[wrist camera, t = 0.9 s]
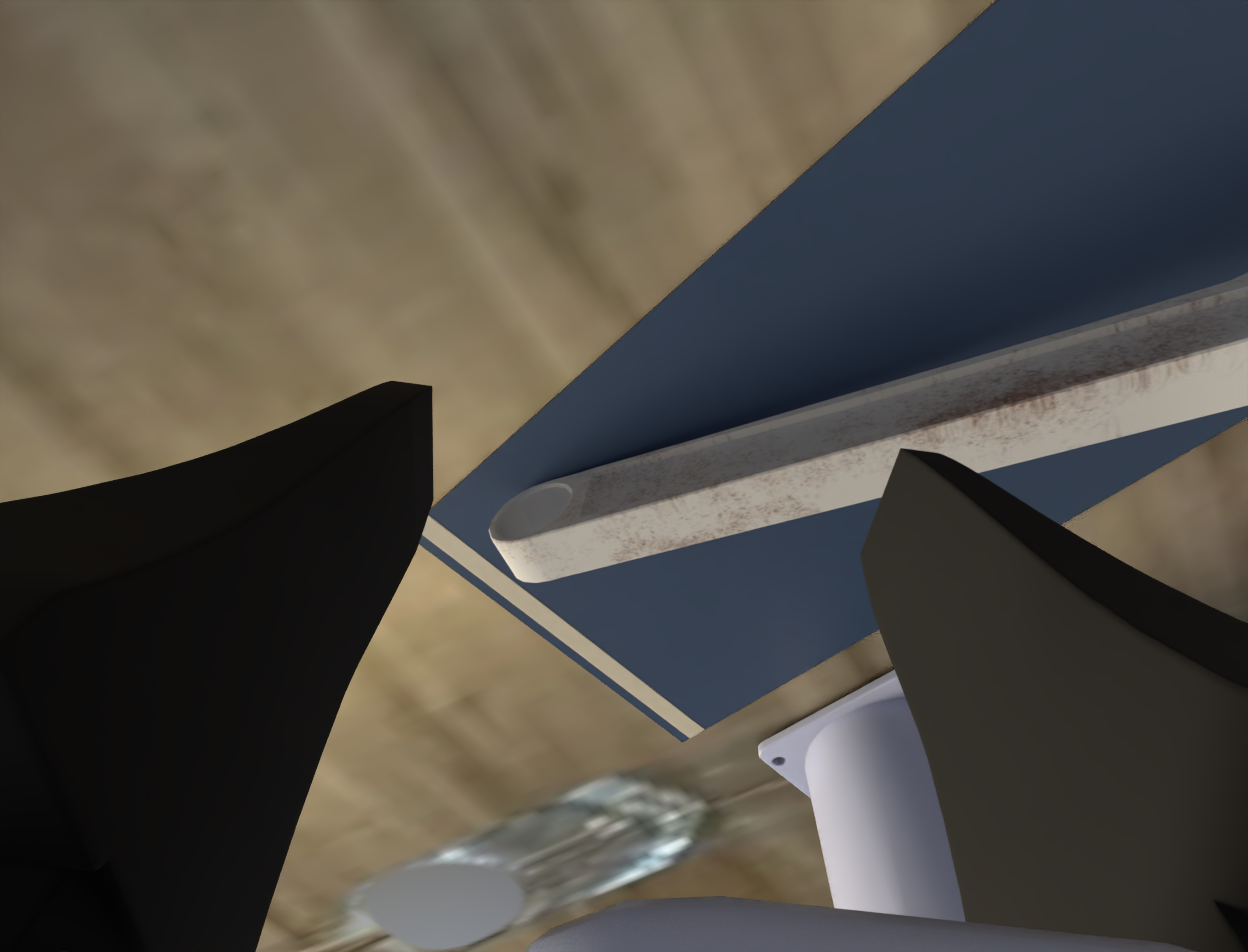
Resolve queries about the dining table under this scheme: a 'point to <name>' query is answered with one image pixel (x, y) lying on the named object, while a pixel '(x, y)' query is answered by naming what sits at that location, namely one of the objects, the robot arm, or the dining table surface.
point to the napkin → (891, 327)
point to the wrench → (892, 436)
